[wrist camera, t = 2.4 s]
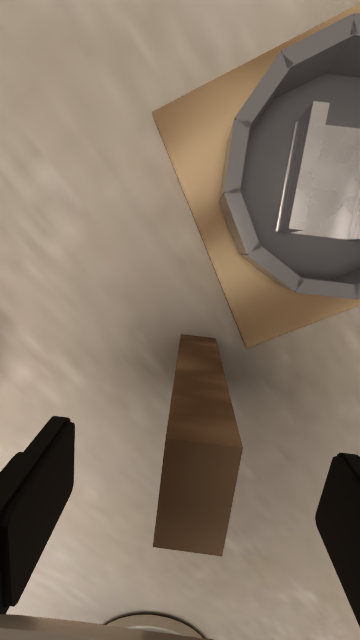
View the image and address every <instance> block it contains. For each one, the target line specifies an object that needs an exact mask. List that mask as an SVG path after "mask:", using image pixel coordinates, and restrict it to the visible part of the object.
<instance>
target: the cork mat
mask: <svg viewBox="0 0 360 640" xmlns="http://www.w3.org/2000/svg"><path fill="white" fill-rule="evenodd" d="M354 13H359V14H360V4H358V5H356V6H354V7H352V8H350V9H349V10H347V11H345V12H343V13H341V14H339V15H337V16H335V17H333V18H331V19H329V20H327V21H326V22H324V23H322V24H320V25H318V26H316V27H314V28H312V29H310V30H308V31H306V32H304V33H303V34H301V35H299V36H297V37H295V38H293V39H291V40H289V41H287V42H285V43H283V44H281V45H280V46H278V47H276V48H274V49H272V50H270V51H268V52H266V53H264V54H262V55H260V56H258V57H257V58H255V59H253V60H251V61H249V62H247V63H245V64H243V65H241V66H239V67H237V68H235V69H234V70H232V71H230V72H228V73H226V74H224V75H222V76H220V77H218V78H216V79H214V80H212V81H211V82H209V83H207V84H205V85H203V86H201V87H199V88H197V89H195V90H193V91H191V92H189V93H188V94H186V95H184V96H182V97H180V98H178V99H176V100H174V101H172V102H170V103H168V104H166V105H165V106H163V107H161V108H159V109H157V110H155V111H153V112H152V114H153V117H154V120H155V122H156V125H157V127H158V130H159V132H160V135H161V137H162V140H163V142H164V145H165V147H166V150H167V152H168V155H169V157H170V159H171V162H172V164H173V167H174V169H175V172H176V174H177V177H178V179H179V182H180V184H181V187H182V189H183V192H184V194H185V197H186V199H187V202H188V204H189V207H190V209H191V212H192V214H193V217H194V219H195V222H196V224H197V227H198V229H199V232H200V234H201V237H202V239H203V242H204V244H205V246H206V249H207V251H208V254H209V256H210V259H211V261H212V264H213V266H214V269H215V271H216V274H217V276H218V279H219V281H220V284H221V286H222V289H223V291H224V294H225V296H226V299H227V301H228V304H229V306H230V309H231V311H232V314H233V316H234V319H235V321H236V324H237V326H238V329H239V331H240V333H241V336H242V338H243V341H244V343H245V346H246V348H249V347H252V346H254V345H257V344H260V343H262V342H265V341H267V340H270V339H273V338H275V337H278V336H280V335H283V334H286V333H288V332H291V331H293V330H296V329H299V328H301V327H304V326H306V325H309V324H312V323H314V322H317V321H319V320H322V319H324V318H327V317H330V316H332V315H335V314H337V313H340V312H343V311H345V310H348V309H350V308H353V307H356V306H358V305H360V299H358V300H357V299H356V300H354V299H346V298H337V297H329V296H321V295H312V294H304V293H296V292H293V291H291V290H289V289H286V288H284V287H281V286H279V285H278V284H276V283H275V282H274V281H272V280H271V279H270V278H269V277H267V276H266V275H265V274H263V273H262V272H260V271H259V270H257V269H256V268H255V267H254V266H253V265H252V264H251V263H249V262H248V261H247V260H246V259H244V258H243V257H242V256H241V255H239V253H238V251H237V248H236V246H235V243H234V241H233V239H232V237H231V235H230V232H229V230H228V228H227V224H226V221H225V218H224V214H223V212H222V209H221V206H220V204H219V197H220V190H221V183H222V172H223V167H224V161H225V154H226V146H227V140H228V137H229V134H230V131H231V128H232V125H233V121H234V118H235V117H236V115H237V114H238V112H239V111H240V109H241V108H242V106H243V105H244V104H245V102H246V101H247V99H248V98H249V96H250V95H251V93H252V92H253V90H254V89H255V88H256V86H257V85H258V83H259V82H260V80H261V79H262V77H263V76H264V74H265V73H266V72H267V70H268V69H269V67H270V66H271V64H272V63H273V61H274V60H275V58H276V57H277V56H278V54H279V53H280V52H281V51H282V50H283V49H285V48H287V47H289V46H291V45H293V44H295V43H297V42H299V41H301V40H303V39H304V38H306V37H308V36H310V35H312V34H314V33H316V32H318V31H320V30H322V29H324V28H326V27H328V26H330V25H331V24H333V23H335V22H337V21H339V20H341V19H343V18H345V17H347V16H349V15H351V14H353V15H354Z"/></svg>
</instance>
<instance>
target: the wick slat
mask: <svg viewBox="0 0 360 640" xmlns="http://www.w3.org/2000/svg"><path fill="white" fill-rule="evenodd" d="M242 449H243V447H242V443H241V439H240V435H239V431H238V427H237V423H236V419H235V415H234V411H233V407H232V403H231V399H230V395H229V391H228V387H227V383H226V379H225V375H224V371H223V367H222V363H221V359H220V355H219V351H218V347H217V343H216V339H215V338H207V337H199V336H190V335H182V334H181V338H180V344H179V351H178V358H177V365H176V372H175V379H174V385H173V392H172V399H171V406H170V413H169V420H168V426H167V433H166V441H165V449H164V458H163V466H162V475H161V483H160V492H159V500H158V509H157V517H156V526H155V534H154V542H153V547H157V548H165V549H172V550H179V551H187V552H194V553H202V554H209V555H216V556H222V554H223V549H224V543H225V538H226V533H227V528H228V523H229V517H230V512H231V507H232V502H233V496H234V491H235V486H236V481H237V475H238V470H239V465H240V460H241V455H242Z"/></svg>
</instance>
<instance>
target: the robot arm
mask: <svg viewBox="0 0 360 640" xmlns="http://www.w3.org/2000/svg"><path fill="white" fill-rule="evenodd" d="M74 440H75V424H74V423H72V422H70V418H66V417H58V416H53V417H52V418H51V419H50V420H49V421H48V422H47V424H46V425H45V426H44V427H43V429H42V430H41V431H40V432H39V434H38V435H37V436H36V437H35V438H34V440H33V441H32V442H31V443H30V445H29V446H28V447H27V448H26V450H25V451H24V452H19V453H17V454H16V455H15V456H14V457H13V458H12V459H11V460H10V461H9V463H8V464H7V465H6V466H5V467H4V468H3V470H2V471H1V472H0V640H212V639H204V638H202V636H201V635H200V634H198V633H197V632H196V631H195V630H193V629H192V628H191V627H189V626H187V625H185V624H183V623H181V622H179V621H176V620H174V619H171V618H167V617H163V616H158V615H145V614H144V615H132V616H127V617H123V618H119V619H117V620H115V621H112V622H110V623H109V624H107V625H100V624H93V623H85V622H77V621H68V620H59V619H50V618H41V617H32V616H23V615H7V614H6V612H7V610H8V608H9V606H15V605H16V604H17V603H18V601H19V599H20V597H21V595H22V593H23V591H24V589H25V587H26V585H27V583H28V581H29V579H30V577H31V574H32V572H33V570H34V568H35V566H36V564H37V562H38V560H39V558H40V556H41V554H42V552H43V550H44V548H45V546H46V544H47V542H48V540H49V538H50V536H51V534H52V531H53V529H54V527H55V525H56V523H57V521H58V519H59V517H60V515H61V513H62V511H63V509H64V507H65V505H66V503H67V501H68V499H69V497H70V495H71V492H72V489H73V484H74ZM315 520H316V525H317V528H318V531H319V533H320V535H321V538H322V540H323V542H324V545H325V547H326V549H327V552H328V554H329V556H330V559H331V561H332V563H333V566H334V568H335V570H336V573H337V575H338V577H339V580H340V582H341V584H342V587H343V589H344V591H345V594H346V596H347V598H348V601H349V603H350V605H351V608H352V610H353V612H354V615H355V617H356V619H357V622H358V624H359V626H360V457H359V456H358V455H355V454H347V453H339V454H338V455H337V456H335V457H333V459H332V462H331V465H330V469H329V472H328V475H327V479H326V482H325V485H324V489H323V492H322V495H321V498H320V502H319V505H318V508H317V512H316V516H315Z"/></svg>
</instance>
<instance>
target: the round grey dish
mask: <svg viewBox="0 0 360 640" xmlns="http://www.w3.org/2000/svg"><path fill="white" fill-rule="evenodd" d="M313 101H317V102H327V103H330V104H329V109H328V114H327V119H326V124H325V125H332V126H341V127H350V128H359V129H360V14H359V13H354V15H353V14H351V15H349V16H347V17H345V18H343V19H341V20H339V21H337V22H335V23H333V24H331V25H330V26H328V27H326V28H324V29H322V30H320V31H318V32H316V33H314V34H312V35H310V36H308V37H306V38H304V39H303V40H301V41H299V42H297V43H295V44H293V45H291V46H289V47H287V48H285V49H283V50H282V51H281V52H280V53H279V54H278V56H277V57H276V58H275V60H274V61H273V63H272V64H271V66H270V67H269V69H268V70H267V72H266V73H265V74H264V76H263V77H262V79H261V80H260V82H259V83H258V85H257V86H256V88H255V89H254V90H253V92H252V93H251V95H250V96H249V98H248V99H247V101H246V102H245V104H244V105H243V106H242V108H241V109H240V111H239V112H238V114H237V115H236V117H235V118H234V121H233V125H232V128H231V131H230V134H229V137H228V140H227V146H226V154H225V161H224V167H223V172H222V183H221V190H220V197H219V204H220V206H221V209H222V212H223V214H224V218H225V221H226V224H227V228H228V230H229V232H230V235H231V237H232V239H233V241H234V243H235V246H236V248H237V251H238V253H239V255H241V256H242V257H243V258H244V259H246V260H247V261H248V262H249V263H251V264H252V265H253V266H254V267H255V268H256V269H257V270H259V271H260V272H262V273H263V274H265V275H266V276H267V277H269V278H270V279H271V280H272V281H274V282H275V283H276V284H278V285H279V286H281V287H284V288H286V289H289V290H291V291H293V292H296V293H304V294H312V295H321V296H329V297H337V298H346V299H354V300H356V299H357V300H358V299H360V241H354V240H345V239H336V238H328V237H319V236H311V235H302V234H293V233H285V232H276V231H275V229H276V224H277V218H278V213H279V207H280V202H281V196H282V191H283V186H284V180H285V175H286V169H287V164H288V158H289V153H290V148H291V142H292V137H293V131H294V126H295V122H297V121H298V120H299V118H300V117H301V116H302V115H303V113H304V112H305V111H306V110H307V108H308V107H309V106H310V105H311V103H312V102H313Z"/></svg>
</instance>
